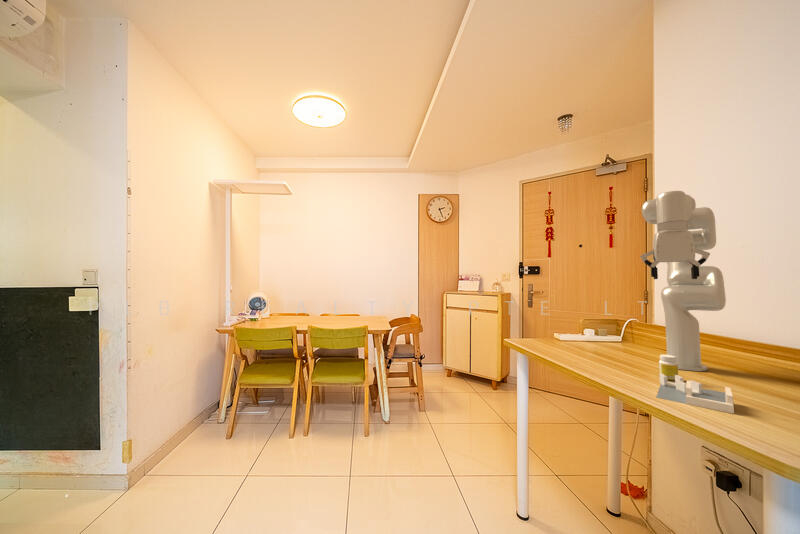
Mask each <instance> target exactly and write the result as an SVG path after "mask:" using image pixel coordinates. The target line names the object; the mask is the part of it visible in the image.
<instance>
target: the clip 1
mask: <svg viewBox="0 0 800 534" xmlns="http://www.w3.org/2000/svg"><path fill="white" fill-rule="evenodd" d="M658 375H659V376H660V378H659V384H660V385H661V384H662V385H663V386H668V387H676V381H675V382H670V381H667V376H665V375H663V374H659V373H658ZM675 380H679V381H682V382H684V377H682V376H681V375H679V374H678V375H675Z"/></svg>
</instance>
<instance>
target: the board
mask: <svg viewBox="0 0 800 534" xmlns="http://www.w3.org/2000/svg"><path fill="white" fill-rule="evenodd" d="M692 396H693V397H698V398H703V399H708V400H713V401H718V402H724V403H726V397H725V391H718V390H713V389H708V388H703V387H702V394H692ZM655 398H657V399H661V400H667V401H671V402H676V403H681V404H685V405H690V404H687V401H686V394H683V393H681V392H679V391H677V390H676V387H668V386H663V385H662V384H661V383H660V386H659V387H658V390H657V394H656V396H655ZM690 406H691V405H690ZM693 406H695V405H693ZM695 407H696V406H695ZM698 407H700V406H698ZM700 408H701V407H700ZM702 408H704V407H702ZM707 409H708V410H710V409H709V408H707ZM712 410H714V409H712ZM714 411H715V410H714ZM717 411H718V412H720V411H719V410H717ZM721 412H723V411H721ZM723 413H724V412H723ZM726 413H728V412H726ZM728 414H729V413H728ZM732 414H733V413H731V415H732Z"/></svg>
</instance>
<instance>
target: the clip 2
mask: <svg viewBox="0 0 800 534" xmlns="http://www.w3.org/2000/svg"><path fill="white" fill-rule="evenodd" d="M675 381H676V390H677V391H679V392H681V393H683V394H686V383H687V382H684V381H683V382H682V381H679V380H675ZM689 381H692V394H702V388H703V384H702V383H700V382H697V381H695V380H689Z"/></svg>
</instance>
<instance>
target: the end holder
mask: <svg viewBox="0 0 800 534" xmlns="http://www.w3.org/2000/svg"><path fill="white" fill-rule="evenodd" d="M685 383H686V401H687V404H686V405H689V404H690V406H694V405H695V407H699V406H700V408H703V407H704V408H705V409H708V408H709V409H708V410H713V409H714V411H718V410H719V411H718V412H722V411H723V413H727V412H728V414H732V413H733V414H735V408H734V396H733V392H732V390H731V388H732V387H728V386H724V392H725V397H726V403H724V402H718V401H713V400H708V399H703V398H698V397H693V396H692V381H690V380H686V382H685Z"/></svg>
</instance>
